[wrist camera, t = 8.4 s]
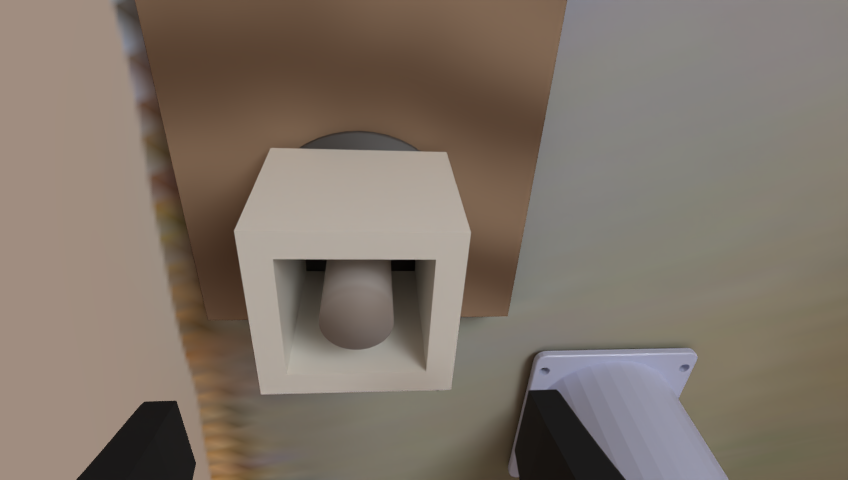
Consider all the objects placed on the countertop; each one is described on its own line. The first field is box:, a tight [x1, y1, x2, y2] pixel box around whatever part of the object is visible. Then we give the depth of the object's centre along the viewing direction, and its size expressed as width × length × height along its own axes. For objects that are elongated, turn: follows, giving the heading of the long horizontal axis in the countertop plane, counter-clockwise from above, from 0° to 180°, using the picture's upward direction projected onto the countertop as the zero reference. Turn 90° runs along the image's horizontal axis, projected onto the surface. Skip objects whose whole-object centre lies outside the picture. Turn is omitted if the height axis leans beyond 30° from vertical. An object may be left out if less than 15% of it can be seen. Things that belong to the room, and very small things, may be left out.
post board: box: [135, 0, 567, 350], centre depth 14 cm, size 18×12×6 cm, turn 177°
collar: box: [234, 148, 471, 394], centre depth 16 cm, size 6×6×5 cm
